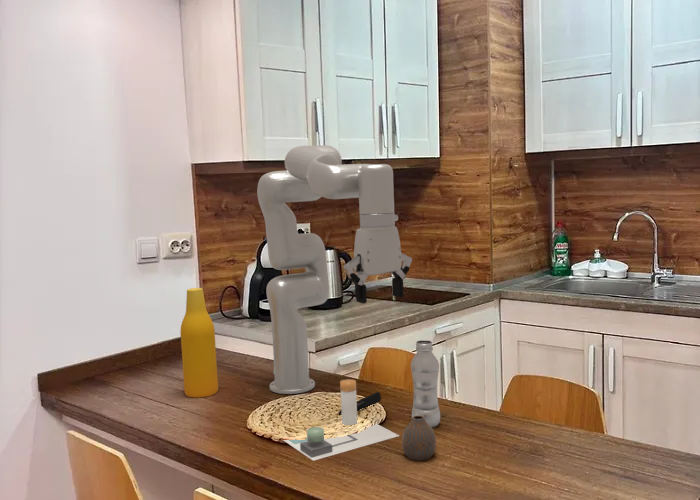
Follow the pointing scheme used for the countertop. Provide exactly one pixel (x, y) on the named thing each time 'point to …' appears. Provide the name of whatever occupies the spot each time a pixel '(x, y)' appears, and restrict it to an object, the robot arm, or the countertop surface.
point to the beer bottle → (198, 347)
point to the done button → (315, 434)
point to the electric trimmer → (367, 401)
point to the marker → (348, 402)
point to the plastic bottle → (425, 383)
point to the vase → (418, 439)
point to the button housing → (316, 448)
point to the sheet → (350, 441)
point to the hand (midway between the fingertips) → (379, 299)
